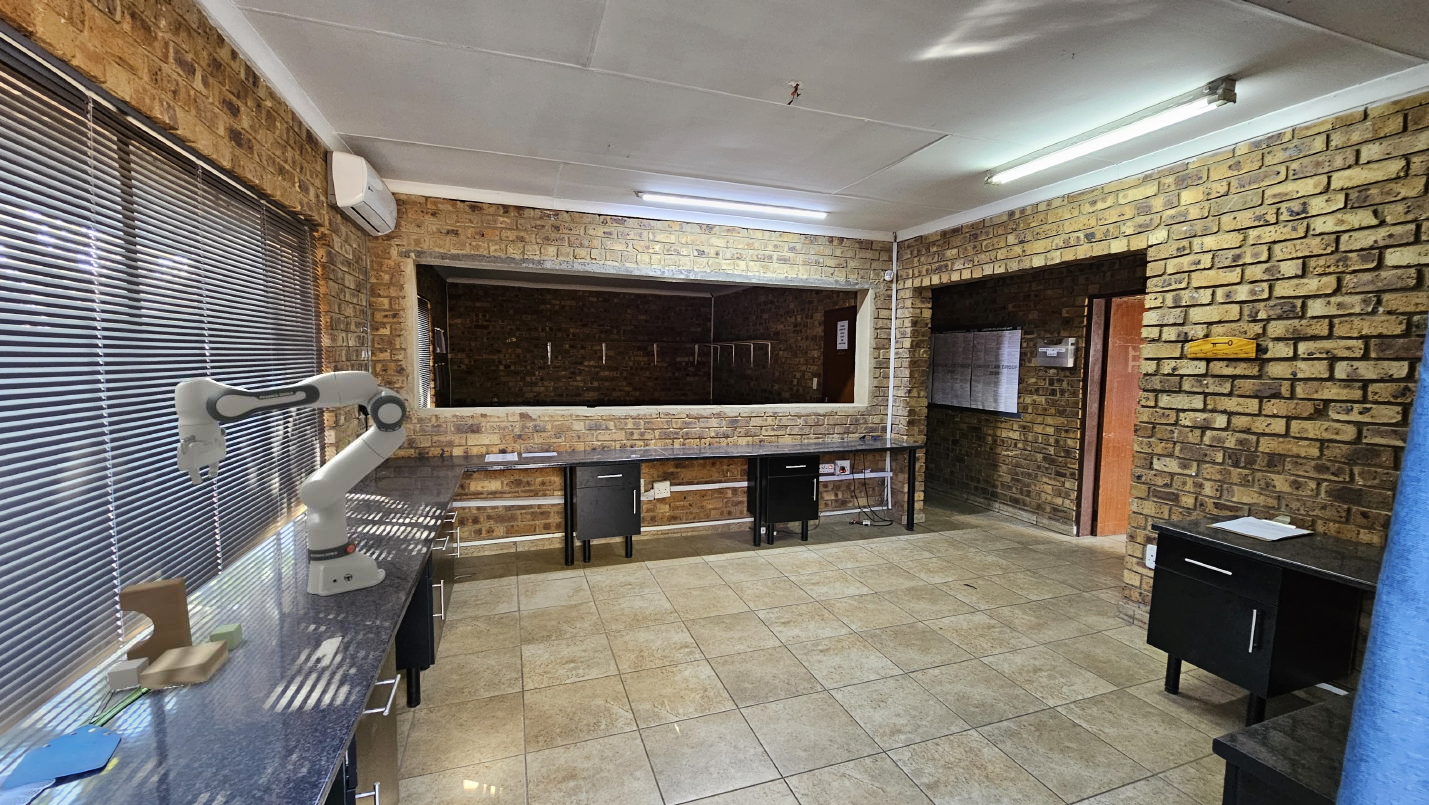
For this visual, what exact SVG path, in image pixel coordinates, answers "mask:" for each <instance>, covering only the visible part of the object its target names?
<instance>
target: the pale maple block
mask: <svg viewBox="0 0 1429 805" xmlns="http://www.w3.org/2000/svg"><path fill="white" fill-rule="evenodd" d="M229 657H230V656H229V650H228V648H227V640H222V641H217V642H211V643H210V642H207V643H206V642H205V643H200V644H195V645H192V646H188V647H182V648H176V649H170V650H167V651H165V652H164V653H163V654H162V655H161V656H160V657H159V658H158V659H157V660H155V661H154V662H153V663H152V664H151V665H150V666H149V667H148V668H147V669H145V670H144V671H143V672H142V673H141V674H140V675H139V676H140V684H141V686H140V689H144V688H147V689H151V690H157V689H163V688H165V687H173V686H181V685H186V686H190V685H189V684H192V685H195V684H194V683H197V682H202V681H206V680H207V679H208V678H209V677H210V676H211V675H212V674H213V673H214V672H215V671H216V670H217V669H218V670H219V669H220V668H221V666H222V665H223V664H224V663H225V662H226V661H227V659H229ZM218 670H217V671H218ZM217 671H216V672H217ZM216 672H215V673H216ZM215 673H214V674H215ZM214 674H213V675H214ZM213 675H212V676H213ZM212 676H211V677H212ZM202 683H203V682H202ZM197 684H198V683H197ZM181 687H182V686H181Z"/></svg>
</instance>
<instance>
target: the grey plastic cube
mask: <svg viewBox="0 0 1429 805" xmlns="http://www.w3.org/2000/svg"><path fill="white" fill-rule="evenodd" d="M148 667H149V661H148V657H147V658H141V659H135V660H130V661H127V660H125V661H121V662H119V663H118V664H117V665H116V666H115V667H113V668H112V669H111V670H110V671H108V673H107V674H108V682H109V688H110V692H111V691H112V690H117V689H123V688H127V687H132V686H136V685H138V684H140V676H139V675H140V674H141V673H142V672H143V671H144V670H145V669H147V668H148Z"/></svg>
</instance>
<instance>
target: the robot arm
mask: <svg viewBox="0 0 1429 805" xmlns="http://www.w3.org/2000/svg"><path fill="white" fill-rule="evenodd" d="M174 389H175V390H174V404H175V412H176V414H177V416H178V422H177V429H178V437H179V442H180V444H178V446H177V448H176V450H177V451H176V463H177V469H178V470H179V471H180V472H185V471H187V473H188V475H189V476H190V479H191V483H192V484H193V485H199V484H201V483H203V477H202V476H201V475H200V468H204V467H206V466H208V467H209V469H208V472H207V474H208V478H209V479H211V478H213V479H214V478H217V477H218V475H219V473H218V471H219V467H220V466H219V465H220V461H223V460H225V459H226V457H227V441H226V437H225V436H227V429H226V428H224V427H222V426H220V423H222V424H235V423H239V422H242V421H244V420H245V419H247V418H249V417H251V416H252V415H255V414H258V413H262V412H268V411H270V412H271V411H276V410H281V409H289V408H320V409H321V408H324V409H325V408H336V407H338V408H339V407H342V406H343V407H345V406H349V405H362V406H365V408H366V410H367V413H368V415H370V417H371V419H372V421H373V424H372V426H371V427H370V428H369V429H368V430H367V431H366V432H364V433H363V434H361V435H360V436H359V437H358V438H356V439H355V440H354V441H353V442H351V443H350V444H349V445H348V446H346V447H345V448H343V449H342V450H341V451H340V452H338V454H336V455H335V456H334V457H332V459H330V460H329V461H328V462H326V463H325V464H324V465H323V466H322V467H320V468H319V469H317V470H315V471H313V472H312V473H311V474H310V475H309V476H308V477H307V478H306V479H305V480H304V481H303V482H302V483H301V485H300V486H299V499H300V501H301V502H302V504H303V505H304V506H305V507H306V524H305V526H306V535H307V545H308V547H307V549H306V556H307V562H308V566H309V570H308V571H309V575H308V581H307V582H308V583H307V586H306V587H307V588H306V592H307V593H308V594H314V595H319V596H321V597H326V596H330V595H336V594H341V593H346V592H350V591H355V590H358V589H364V588H368V587H373V586H376V585H378V584H380V583H381V582H382V581H383V580H384V579H385V577H386V575H387V574H386V570H384V569H383V568H380V569H379V568H378V565H377V562H376V560H375V558H374V557H372V556H369V555H367V554H365V553H363V552H360V551H358V550H357V545H356V544H357V543H356V540H354V542H353V541H352V540H349V536H348V535H349V534H348V524H347V493H348V492H349V491H350V490H351V489H352V488H354V486H356V485H357V484H358V483H359V482H360V481H361V480H363V479H364V478H365V477H366V476H367V475H368V474H370V473H372V471H374V469H376V468H377V467H378V466H380V465H381V464H382V463H383V462H384V461H386V460H387V459H388V458H389V457H391V455H393V454H394V453H395V452H396V451H397V450H398V449H399V447H400V446H402V445H403V443H404V442H405V441H406V439H407V432H406V429H405V428H404V426H403V423H404V422H405V418H406V417H407V414H408V413H407V412H408V410H407V409H408V408H407V405H406V403H405V400H404V398H403V397H402V396H401V395H400V394H399V393H398V391H397V390H395V389H393V388H391V387H388V386H384V385H381V384H378V382H377V379H376V377H375V376H374V375H373V374H372V373H370V372H369V371H364V370H361V371H359V370H351V371H347V370H346V371H335V372H327V373H322V374H318V375H314V376H311V377H308V378H306V379H304V380H302V381H299V382H298V383H295V384H291V385H287V386H283V387H276V388H267V389H260V390H259V389H258V390H248V389H245V388H242V387H237V386H232V385H227V384H223V383H221V382H217V381H215V380H213V379H211V378H209V377H198V378H193V379H188V380H183V381H180V382H179V383H177V385H176V387H175V388H174Z"/></svg>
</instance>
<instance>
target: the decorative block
mask: <svg viewBox="0 0 1429 805" xmlns="http://www.w3.org/2000/svg"><path fill="white" fill-rule="evenodd" d="M185 580H186V579H185V577H182V576H181V577H175V578H169V579H162V580H156V581H149V582H142V583H136V584H130V585H128V586H127V587H125V588H124V589H123V590H121V591H120V592H119V593H118V600H119V606H120V610H121V611H122V612H136V613H139V614H143V615H145V616H146V617H147V618H149V619H150V620H151V622H152V624H153V630H152V634H151V636H149V637H148V638H145V639H143V640H141V641H136V643H135V644H133V645H132V646H131V647H130V649H128V650H127V652H126V658H127V659H126V661H130V660H135V659H141V658H147V657H148V661H149V665H151V664H152V663H153V662H154V661H155V660H157V659H158V658H159V657H160V656H161V655H162V654H163V653H164V652H165V651H167V650H170V649H176V648H182V647H188V646H193V639H192V632H191V622H190V614H189V607H188V600H187V599H188V597H187V590H186V582H185Z"/></svg>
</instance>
